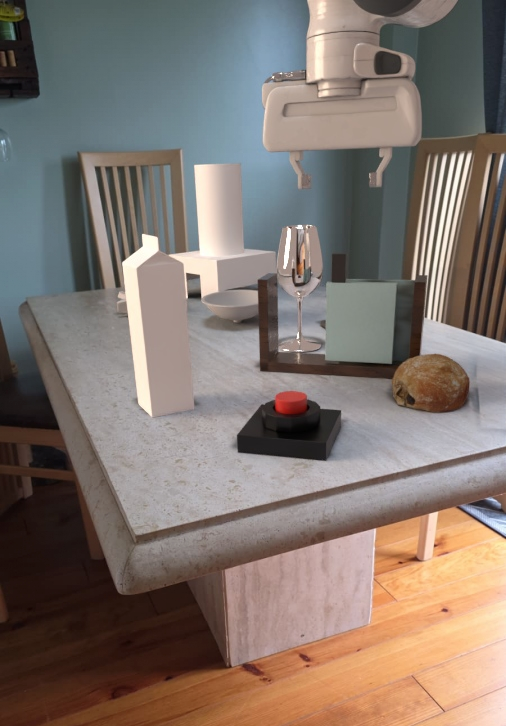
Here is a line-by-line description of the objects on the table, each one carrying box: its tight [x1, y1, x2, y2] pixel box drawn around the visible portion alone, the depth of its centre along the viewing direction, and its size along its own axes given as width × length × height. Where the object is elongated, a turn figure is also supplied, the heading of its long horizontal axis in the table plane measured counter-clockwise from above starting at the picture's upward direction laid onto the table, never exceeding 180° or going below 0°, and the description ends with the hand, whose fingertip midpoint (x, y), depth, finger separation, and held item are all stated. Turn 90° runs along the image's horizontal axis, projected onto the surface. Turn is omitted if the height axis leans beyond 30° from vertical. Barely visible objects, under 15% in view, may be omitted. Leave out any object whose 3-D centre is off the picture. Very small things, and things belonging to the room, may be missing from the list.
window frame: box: [257, 273, 428, 380], centre depth 94 cm, size 24×6×14 cm, turn 73°
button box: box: [236, 398, 342, 462], centre depth 72 cm, size 10×10×4 cm
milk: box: [121, 233, 195, 419], centre depth 79 cm, size 6×6×22 cm
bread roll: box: [391, 353, 471, 413], centre depth 82 cm, size 10×10×8 cm
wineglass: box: [276, 224, 324, 353], centre depth 105 cm, size 8×8×20 cm
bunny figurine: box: [116, 290, 128, 314], centre depth 139 cm, size 10×5×15 cm
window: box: [324, 252, 397, 364], centre depth 91 cm, size 10×1×16 cm, turn 73°
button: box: [274, 390, 308, 414], centre depth 71 cm, size 4×4×2 cm
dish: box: [200, 289, 258, 323], centre depth 128 cm, size 18×14×5 cm
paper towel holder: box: [168, 162, 277, 300], centre depth 151 cm, size 19×19×30 cm
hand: (339, 188), depth 82 cm, fingers open, 8 cm apart
